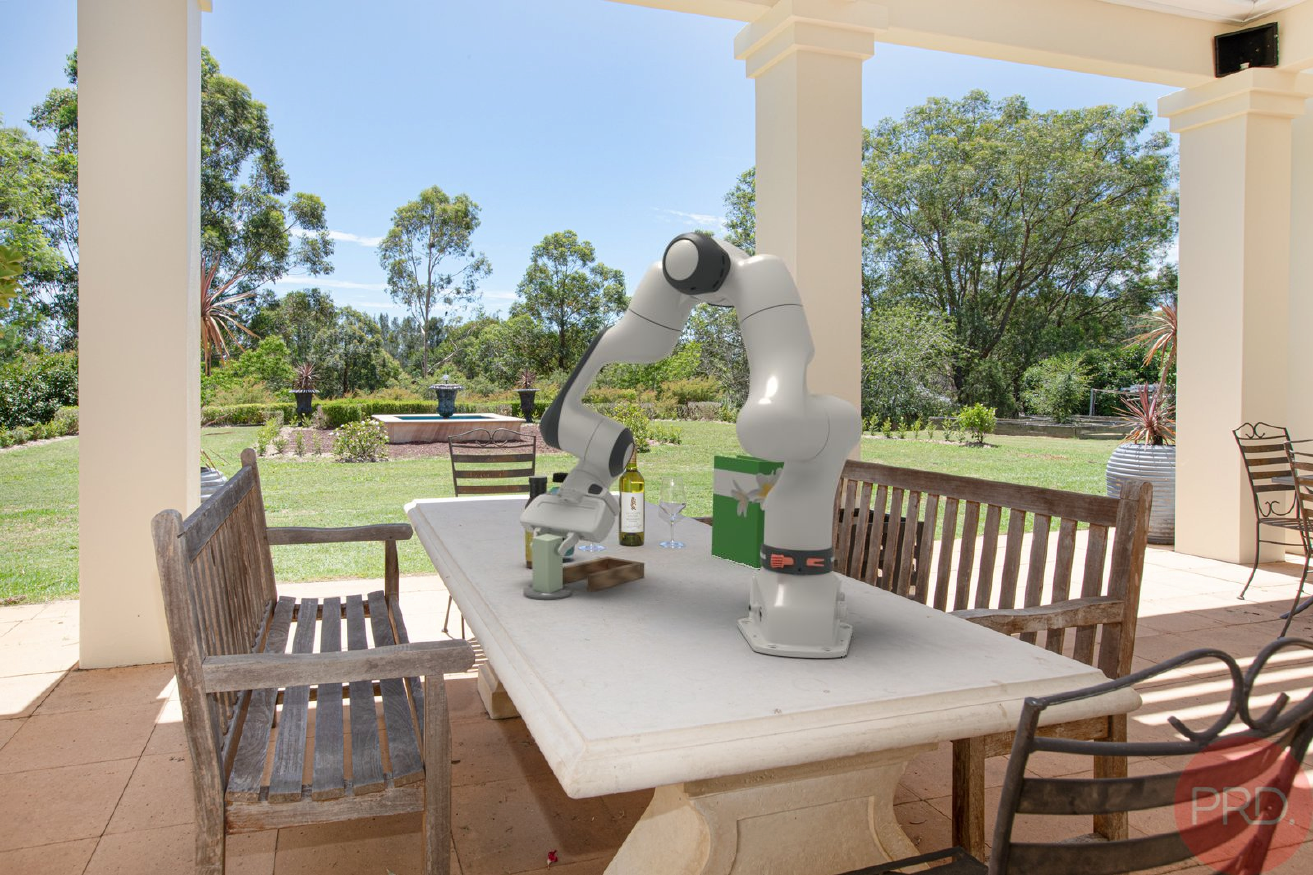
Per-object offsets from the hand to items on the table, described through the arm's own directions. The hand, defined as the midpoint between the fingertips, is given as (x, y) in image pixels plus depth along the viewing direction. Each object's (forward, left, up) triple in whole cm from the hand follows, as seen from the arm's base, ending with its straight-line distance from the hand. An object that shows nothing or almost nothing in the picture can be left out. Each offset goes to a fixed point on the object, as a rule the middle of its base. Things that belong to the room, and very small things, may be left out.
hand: (545, 551), depth 160 cm
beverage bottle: (+33, +4, -8) cm, 34 cm away
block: (0, 0, -7) cm, 7 cm away
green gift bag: (+41, -38, -8) cm, 56 cm away
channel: (+14, -8, -8) cm, 18 cm away
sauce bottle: (+25, +7, -8) cm, 27 cm away
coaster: (+1, 0, -8) cm, 8 cm away
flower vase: (+4, -44, -8) cm, 45 cm away
